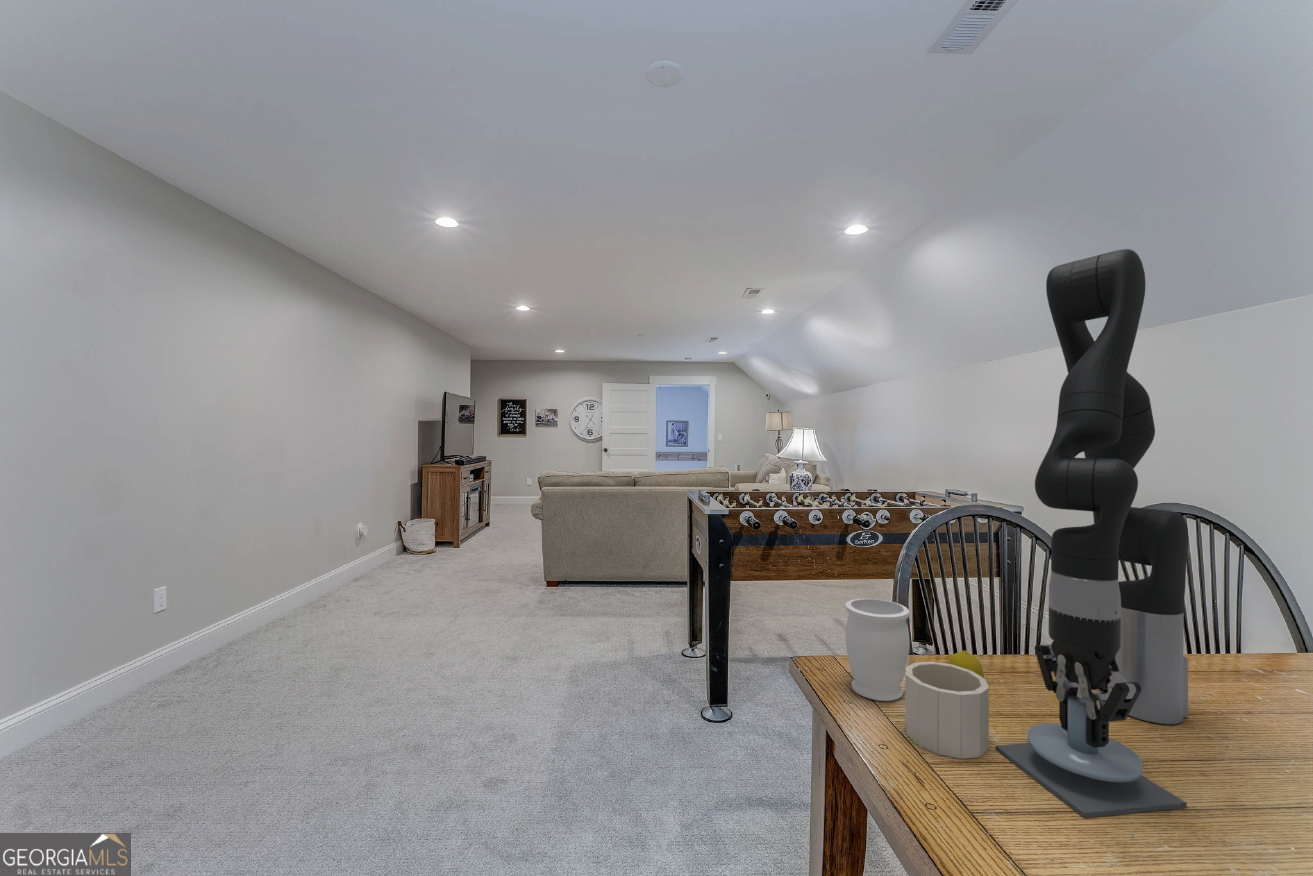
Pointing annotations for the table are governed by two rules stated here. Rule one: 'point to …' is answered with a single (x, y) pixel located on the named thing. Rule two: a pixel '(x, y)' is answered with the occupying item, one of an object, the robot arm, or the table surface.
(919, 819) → the table surface
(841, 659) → the table surface
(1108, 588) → the robot arm
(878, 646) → the jar
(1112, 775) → the lid
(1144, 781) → the mat
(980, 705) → the crock
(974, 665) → the lemon
